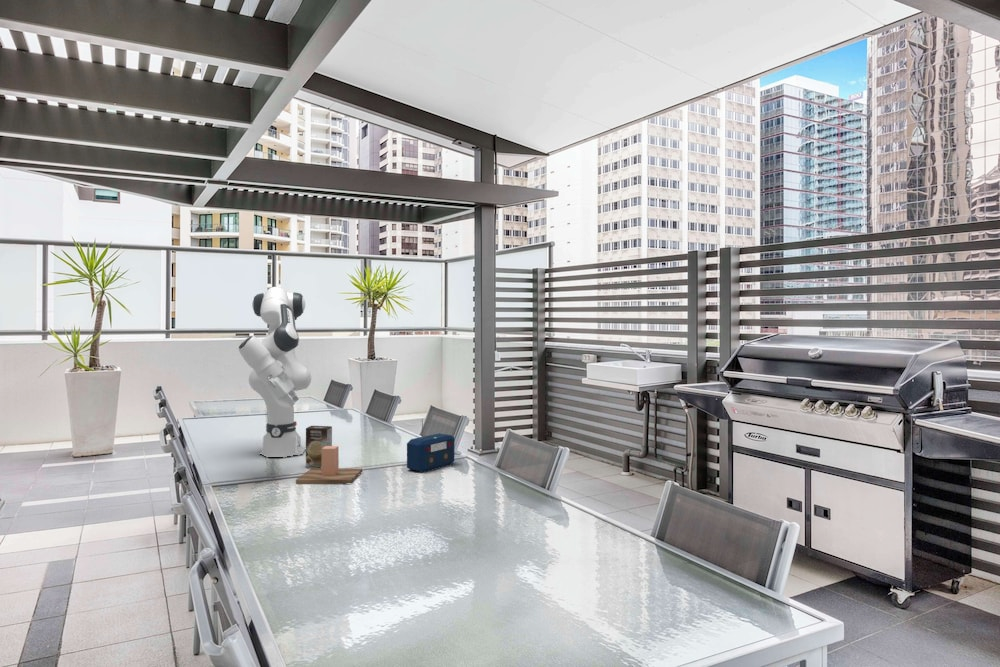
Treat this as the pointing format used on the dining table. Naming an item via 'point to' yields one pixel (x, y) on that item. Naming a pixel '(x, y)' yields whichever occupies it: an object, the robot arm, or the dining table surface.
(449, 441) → the radio
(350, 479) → the walnut board
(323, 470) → the terracotta block
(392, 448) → the dining table surface
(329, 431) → the coffee box
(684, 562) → the dining table surface
